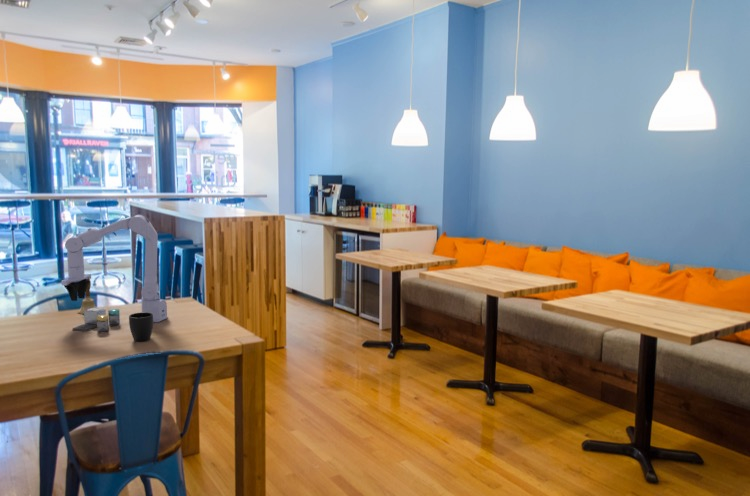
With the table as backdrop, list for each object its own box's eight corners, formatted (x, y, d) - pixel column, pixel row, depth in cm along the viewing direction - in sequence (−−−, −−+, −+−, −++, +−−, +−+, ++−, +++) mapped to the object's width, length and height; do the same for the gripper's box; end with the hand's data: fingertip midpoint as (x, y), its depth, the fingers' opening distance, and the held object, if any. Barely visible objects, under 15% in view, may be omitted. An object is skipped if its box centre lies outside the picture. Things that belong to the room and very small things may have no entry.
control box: (106, 323, 226) (105, 308, 225) (98, 326, 221) (97, 311, 220) (92, 322, 227) (91, 307, 226) (84, 325, 222) (83, 310, 222)
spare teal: (122, 323, 226) (121, 309, 225) (115, 326, 222) (115, 312, 221) (113, 323, 227) (112, 308, 226) (106, 325, 223) (105, 311, 222)
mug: (159, 333, 214) (158, 309, 213) (150, 343, 202) (149, 317, 201) (137, 333, 213) (136, 309, 212) (126, 343, 202) (125, 317, 200)
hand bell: (102, 309, 247) (101, 274, 245) (91, 314, 239) (89, 278, 236) (85, 309, 248) (83, 274, 245) (73, 313, 240) (71, 277, 237)
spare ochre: (111, 330, 217) (110, 315, 216) (104, 333, 213) (103, 318, 212) (101, 329, 218) (101, 314, 217) (94, 332, 214) (94, 317, 213)
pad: (96, 327, 221) (96, 325, 220) (86, 331, 215) (86, 329, 215) (83, 326, 222) (83, 324, 221) (72, 330, 216) (72, 328, 216)
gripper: (79, 262, 230) (81, 294, 232) (53, 269, 216) (55, 302, 218) (94, 263, 229) (96, 295, 231) (69, 269, 215) (71, 304, 217)
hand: (77, 299), depth 224 cm, fingers open, 4 cm apart
